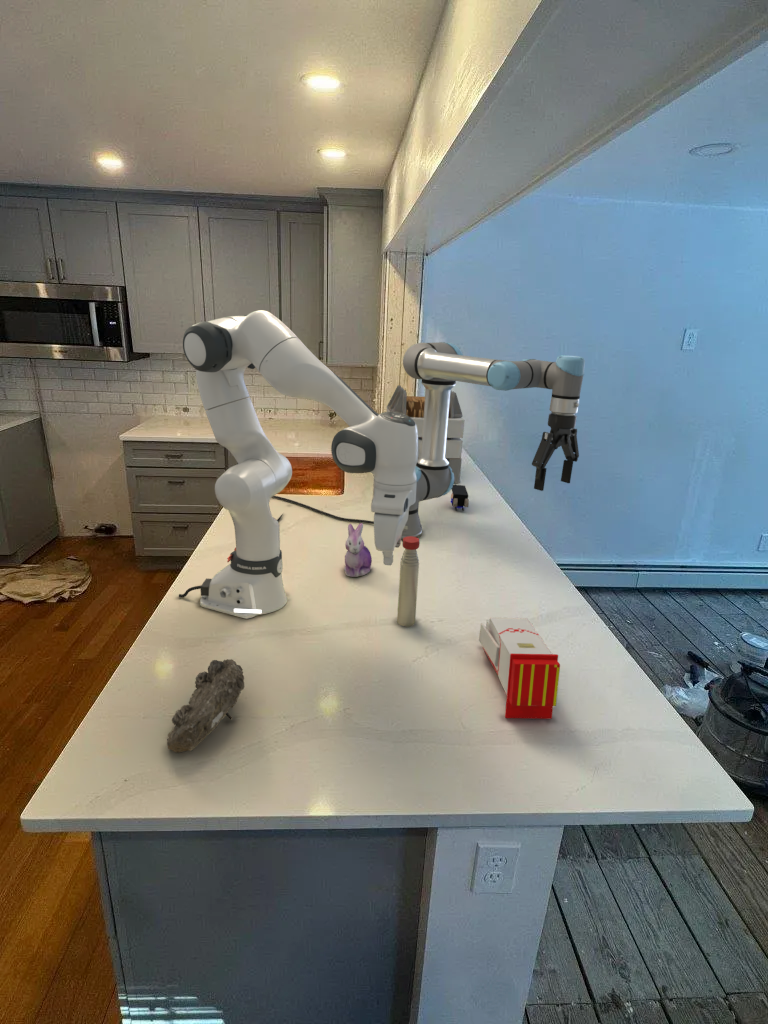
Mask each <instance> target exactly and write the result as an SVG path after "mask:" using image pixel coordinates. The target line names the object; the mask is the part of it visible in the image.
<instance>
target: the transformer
mask: <svg viewBox="0 0 768 1024" xmlns="http://www.w3.org/2000/svg"><path fill="white" fill-rule="evenodd" d="M407 394H408V393H407V390H406V389H404V388H403V387H402V385H399V384H398V385H397V386H396V388H395V390H394V392H393V394H392V395H391V398H390V400H389V402H388V404H387V405H386V412H395V413H396V412H397V413H401V414H404V415H407V416H409V417H410V418H412V419H413V420H414V421H415V423H416V426H417V431H418V458H420V457H421V449H422V434H423V419H424V404H425V396H415V395H414V396H413V395H412V396H411V395H407ZM464 429H465V419H464V418H463V411H462V408H461V405H460V402H459V398H458V395H457V392H455V391H453V390H451V392H450V404H449V416H448V428H447V441H446V453H445V458H446V459H447V461H448V462H449V466H450V467H451V469H452V473H454V484H455V483H456V484H459V483H461V472H462V461H463V460H462V453H463V442H464V441H463V440H462V439H463V438H464V431H465V430H464Z"/></svg>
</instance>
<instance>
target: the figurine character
mask: <svg viewBox="0 0 768 1024" xmlns="http://www.w3.org/2000/svg"><path fill="white" fill-rule="evenodd" d="M449 502H450V504H451V506H452V507H453V508H454V511H456V512H457V511H458V509H461V511H462V512H464V511H465V508H469V505H470V500H469V492H468V490H467V488H466V485H464V484H463V485H461V484H453V487H452V489H451V494H450V501H449Z"/></svg>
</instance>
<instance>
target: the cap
mask: <svg viewBox="0 0 768 1024" xmlns="http://www.w3.org/2000/svg"><path fill="white" fill-rule="evenodd" d="M402 548H403V549H404V550H405V549H408V550H415V549H416V550H418V549H419V548H420V537H418V538H417V537H413V536H408V537H404V538H403V540H402Z"/></svg>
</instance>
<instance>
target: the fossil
mask: <svg viewBox="0 0 768 1024" xmlns="http://www.w3.org/2000/svg"><path fill="white" fill-rule="evenodd" d="M243 670H244V669H243V667H242V665H240V664H237V662H236V661H235V660H234V659H232V658H231V659H227V658H226V659H224V660H223V661H222V660H217V659H212V660H211V661H210V663H209V665H208V666H207V671H201V672H199V673H198V674H197V675H196V676H195V680H194V684H195V685H194V687H195V689H194V690H193V693H192V694H191V697H190V698H189V700H188V704H184V705H182V706H181V707H180V709H177V710H176V711H175V713H174V715H173V716H172V718H171V723H172V724H173V727H172V730H171V731H170V732H168V734H167V738H166V741H167V742H166V745H167V749H168V750H169V751H173V752H174V753H176V754H178V753H182V752H188V751H189V752H192V751H193V750H195V748H196V747H197V746H199V744H200V743H201V742H203V741H204V740H205V739H206V738H207V737H208V736H209V735H210V734H211V733H212V732H214V730H215V729H217V727H218V726H219V724H220V722H221V721H222V720H223V719H224V718H225V716H226V717H227V719H229V720H233V717H232V715H230V714H229V710H230V709H231V708H234V706H235V704H236V703H237V702H238V699H239V697H240V695H241V693H242V691H243V690H245V689H244V688H245V675H244V671H243Z"/></svg>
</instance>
